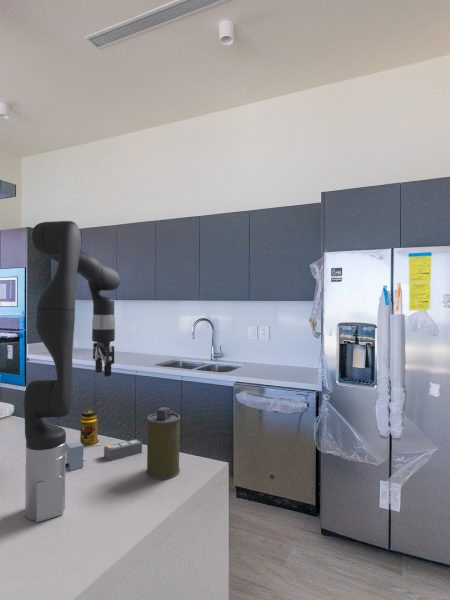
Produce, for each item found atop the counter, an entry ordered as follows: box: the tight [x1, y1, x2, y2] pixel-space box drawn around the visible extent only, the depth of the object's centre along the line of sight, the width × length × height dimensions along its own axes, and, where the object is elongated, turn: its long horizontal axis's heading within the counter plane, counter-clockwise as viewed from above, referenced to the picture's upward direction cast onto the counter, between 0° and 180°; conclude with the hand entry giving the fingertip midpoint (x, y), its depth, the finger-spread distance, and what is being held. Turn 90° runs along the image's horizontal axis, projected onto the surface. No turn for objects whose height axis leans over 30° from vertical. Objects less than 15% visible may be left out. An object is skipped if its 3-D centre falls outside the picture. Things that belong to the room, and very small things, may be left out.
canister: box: [145, 406, 181, 480], centre depth 120 cm, size 11×10×20 cm
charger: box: [65, 440, 87, 471], centre depth 122 cm, size 4×10×7 cm, turn 128°
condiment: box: [78, 409, 102, 449], centre depth 144 cm, size 7×8×12 cm
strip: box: [103, 439, 143, 462], centre depth 133 cm, size 4×12×4 cm, turn 128°
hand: (103, 374), depth 133 cm, fingers open, 8 cm apart
